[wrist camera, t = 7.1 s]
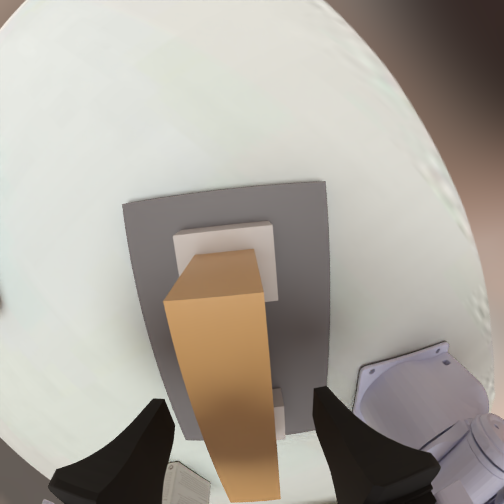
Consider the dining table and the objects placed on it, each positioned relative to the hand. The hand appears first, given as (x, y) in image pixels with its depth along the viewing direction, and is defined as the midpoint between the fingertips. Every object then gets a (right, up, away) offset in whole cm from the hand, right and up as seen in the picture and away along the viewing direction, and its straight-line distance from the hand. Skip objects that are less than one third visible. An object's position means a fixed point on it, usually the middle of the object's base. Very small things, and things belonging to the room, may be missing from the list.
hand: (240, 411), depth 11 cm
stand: (0, +2, +7) cm, 7 cm away
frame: (0, +1, +4) cm, 4 cm away
